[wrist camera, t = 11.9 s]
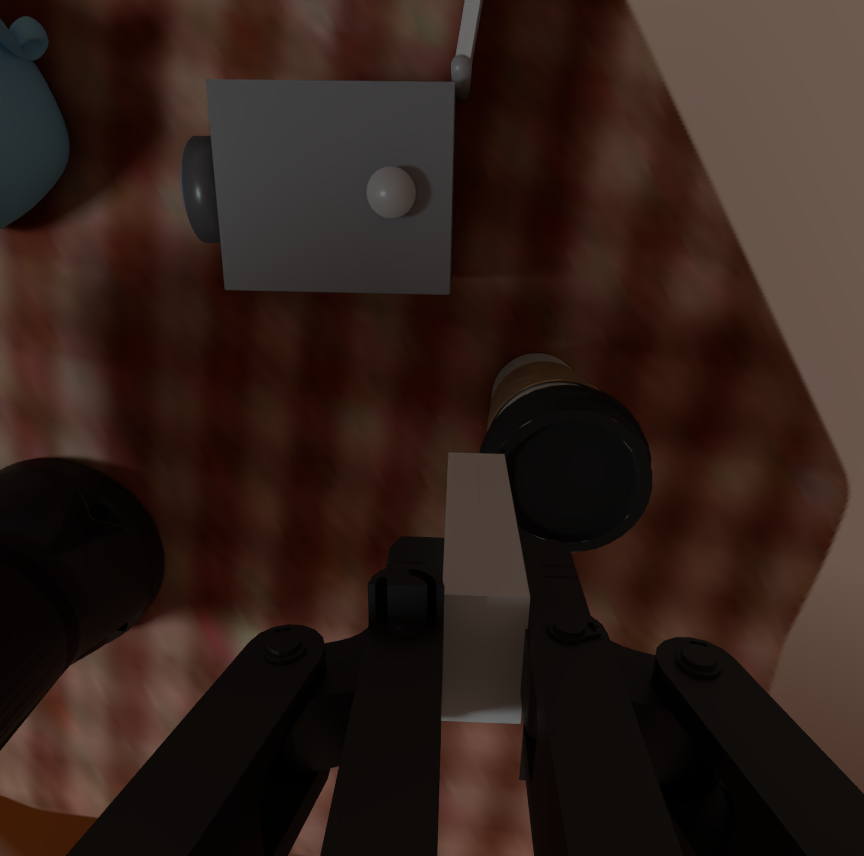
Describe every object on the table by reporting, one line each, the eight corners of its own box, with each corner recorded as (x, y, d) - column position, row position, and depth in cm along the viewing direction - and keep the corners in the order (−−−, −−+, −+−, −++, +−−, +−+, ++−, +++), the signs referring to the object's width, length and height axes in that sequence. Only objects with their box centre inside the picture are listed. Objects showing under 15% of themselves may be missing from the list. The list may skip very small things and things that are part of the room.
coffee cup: (505, 313, 42) (529, 370, 28) (619, 364, 43) (699, 445, 29) (453, 423, 45) (450, 527, 30) (561, 470, 45) (608, 591, 31)
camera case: (231, 273, 42) (174, 291, 33) (216, 103, 38) (148, 75, 30) (451, 277, 41) (449, 296, 33) (455, 105, 38) (454, 78, 30)
